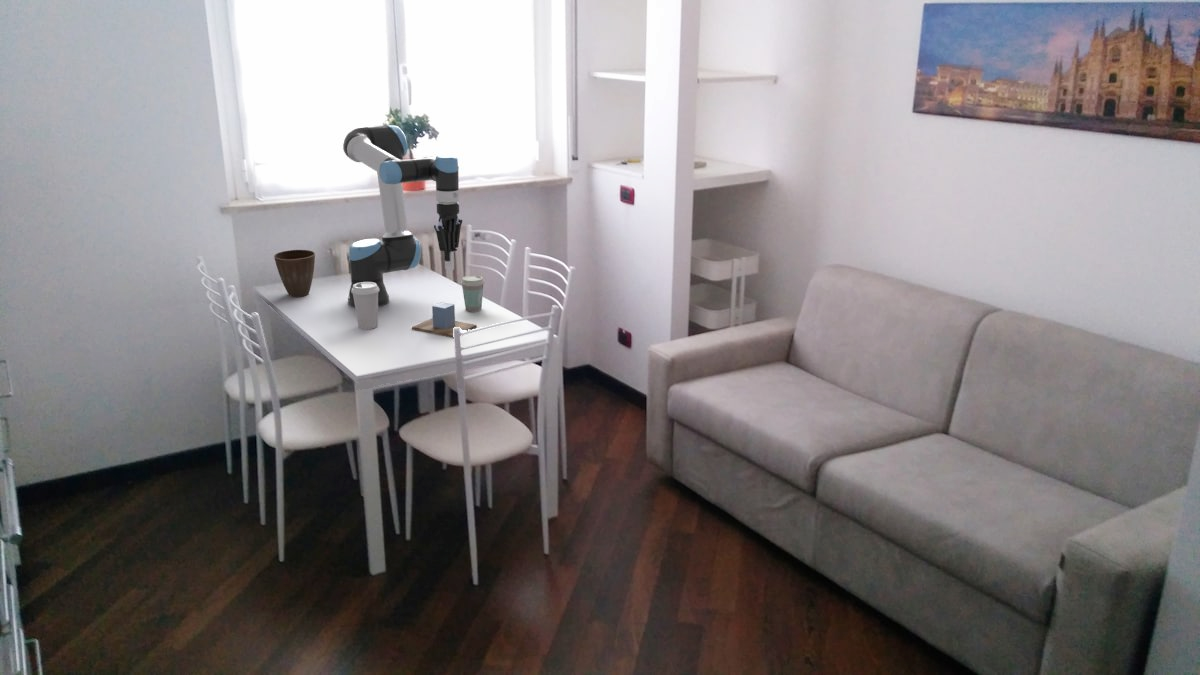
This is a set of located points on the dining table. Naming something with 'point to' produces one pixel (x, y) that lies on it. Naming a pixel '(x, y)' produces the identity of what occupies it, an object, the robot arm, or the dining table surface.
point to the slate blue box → (443, 315)
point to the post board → (428, 327)
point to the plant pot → (296, 271)
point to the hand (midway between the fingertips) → (449, 269)
